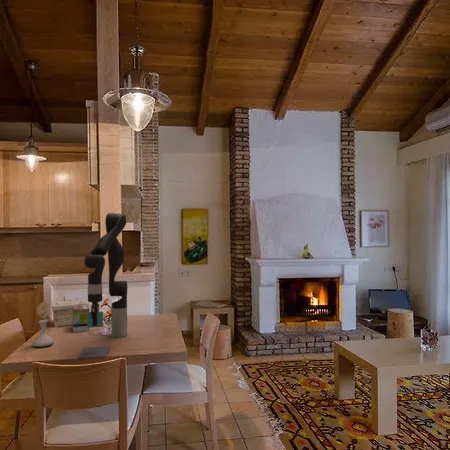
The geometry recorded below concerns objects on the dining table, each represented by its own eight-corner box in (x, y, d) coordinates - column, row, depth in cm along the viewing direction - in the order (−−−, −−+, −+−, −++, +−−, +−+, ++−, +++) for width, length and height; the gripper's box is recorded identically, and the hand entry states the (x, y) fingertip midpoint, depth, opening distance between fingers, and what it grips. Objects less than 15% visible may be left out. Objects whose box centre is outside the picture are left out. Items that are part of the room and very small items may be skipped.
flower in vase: (29, 345, 232) (28, 301, 232) (49, 341, 240) (49, 298, 240) (37, 350, 223) (37, 303, 223) (58, 346, 231) (58, 301, 231)
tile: (87, 326, 220) (87, 311, 220) (103, 326, 221) (103, 311, 222) (87, 327, 218) (86, 312, 218) (102, 327, 219) (102, 312, 219)
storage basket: (51, 328, 272) (51, 305, 272) (51, 323, 287) (51, 301, 287) (89, 324, 282) (89, 302, 282) (87, 319, 297) (87, 299, 297)
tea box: (89, 331, 263) (89, 308, 263) (73, 333, 259) (72, 309, 259) (88, 326, 277) (88, 304, 277) (72, 327, 273) (72, 305, 273)
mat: (83, 348, 225) (83, 347, 225) (110, 347, 228) (110, 346, 228) (77, 358, 207) (77, 357, 207) (106, 357, 210) (106, 356, 210)
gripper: (89, 290, 226) (89, 322, 226) (85, 294, 212) (85, 328, 212) (103, 290, 227) (104, 321, 227) (100, 294, 213) (100, 327, 213)
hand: (95, 324), depth 220 cm, fingers closed on tile, 2 cm apart
